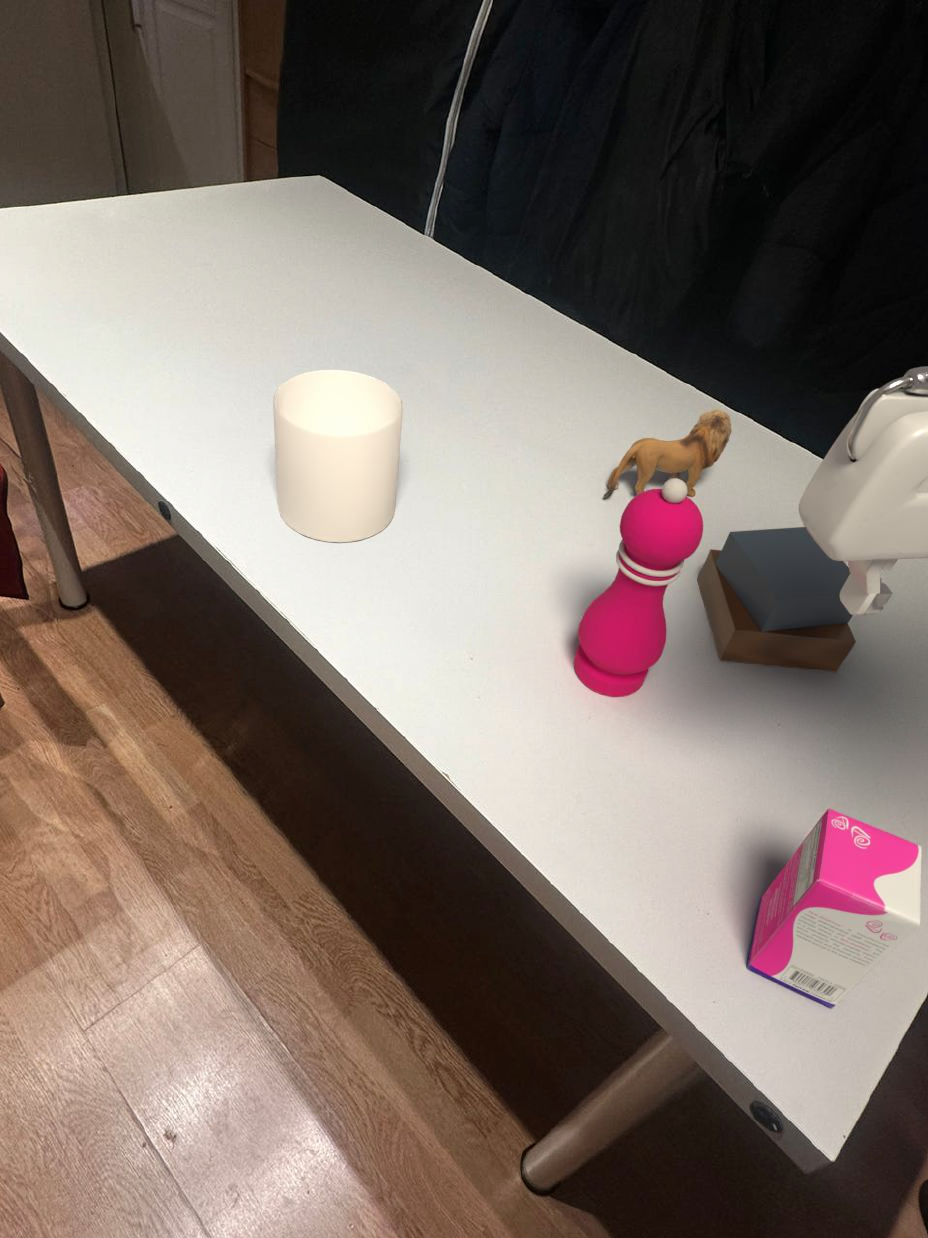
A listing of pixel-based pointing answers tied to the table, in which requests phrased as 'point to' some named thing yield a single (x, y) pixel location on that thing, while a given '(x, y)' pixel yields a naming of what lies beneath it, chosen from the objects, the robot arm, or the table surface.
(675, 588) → the table surface
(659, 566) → the pepper mill
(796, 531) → the top block
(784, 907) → the supplement box
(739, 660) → the base block
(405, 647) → the table surface
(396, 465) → the cup
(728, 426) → the lion figurine
